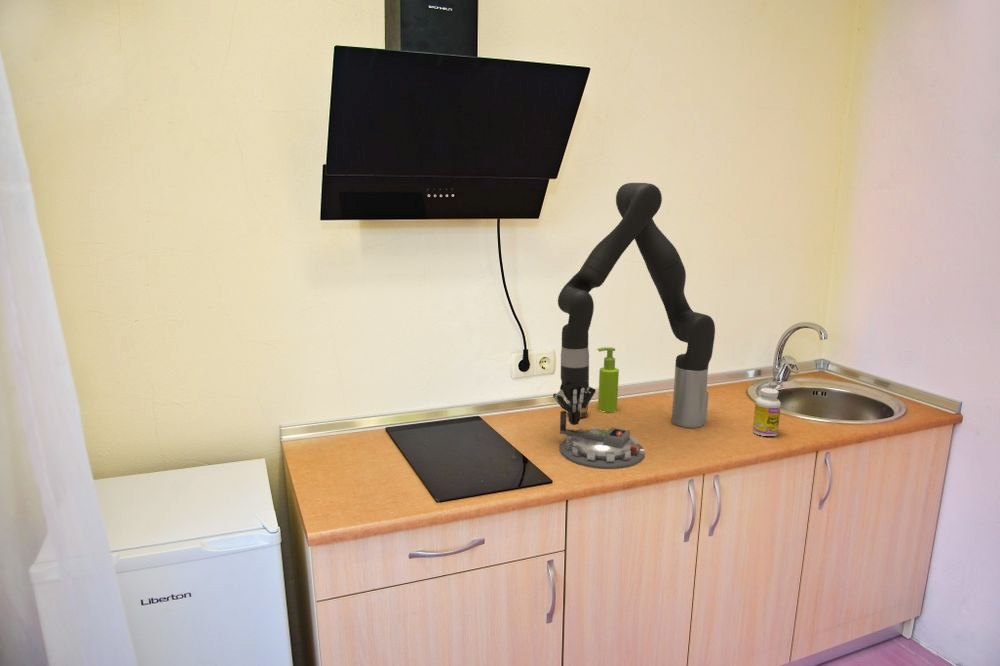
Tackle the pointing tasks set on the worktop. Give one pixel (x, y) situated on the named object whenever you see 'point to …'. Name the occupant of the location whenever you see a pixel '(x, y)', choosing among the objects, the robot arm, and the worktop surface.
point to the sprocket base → (599, 462)
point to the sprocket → (595, 443)
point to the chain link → (616, 438)
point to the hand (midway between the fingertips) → (574, 423)
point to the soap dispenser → (608, 382)
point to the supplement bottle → (767, 413)
